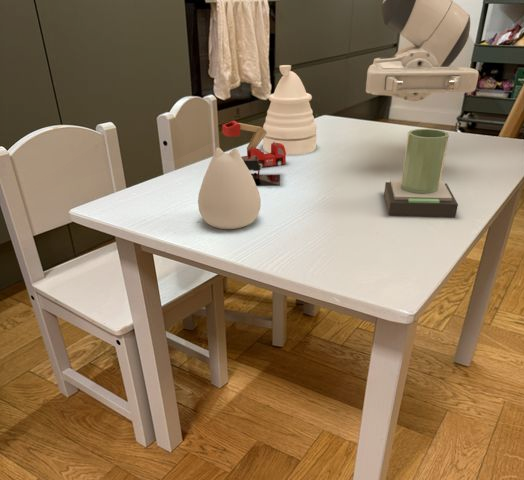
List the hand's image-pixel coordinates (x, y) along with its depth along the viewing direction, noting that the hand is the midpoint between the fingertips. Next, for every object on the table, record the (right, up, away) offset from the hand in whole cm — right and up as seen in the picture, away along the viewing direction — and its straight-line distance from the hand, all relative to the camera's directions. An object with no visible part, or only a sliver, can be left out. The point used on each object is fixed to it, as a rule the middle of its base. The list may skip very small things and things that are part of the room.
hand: (425, 86), depth 89 cm
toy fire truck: (-30, -7, +22) cm, 38 cm away
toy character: (-34, -25, -4) cm, 43 cm away
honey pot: (-22, +2, +34) cm, 41 cm away
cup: (-1, -18, -1) cm, 18 cm away
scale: (-1, -21, 0) cm, 21 cm away
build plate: (-32, -13, +14) cm, 37 cm away
